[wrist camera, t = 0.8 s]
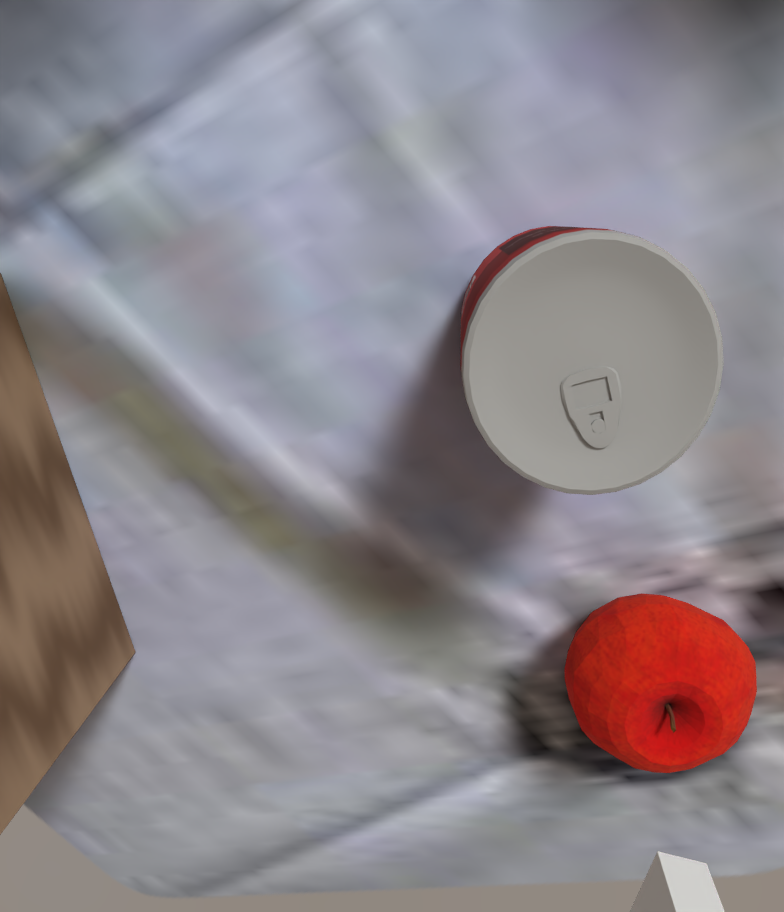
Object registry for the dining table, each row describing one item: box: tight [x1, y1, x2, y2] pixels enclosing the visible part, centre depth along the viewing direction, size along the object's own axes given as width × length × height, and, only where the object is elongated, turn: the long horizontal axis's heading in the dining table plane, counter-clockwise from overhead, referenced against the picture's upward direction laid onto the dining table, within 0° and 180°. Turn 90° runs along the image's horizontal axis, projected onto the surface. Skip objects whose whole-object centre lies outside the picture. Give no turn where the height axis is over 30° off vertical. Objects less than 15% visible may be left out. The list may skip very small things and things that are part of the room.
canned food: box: [460, 226, 723, 495], centre depth 27 cm, size 8×8×11 cm
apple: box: [565, 594, 757, 773], centre depth 33 cm, size 8×8×7 cm
